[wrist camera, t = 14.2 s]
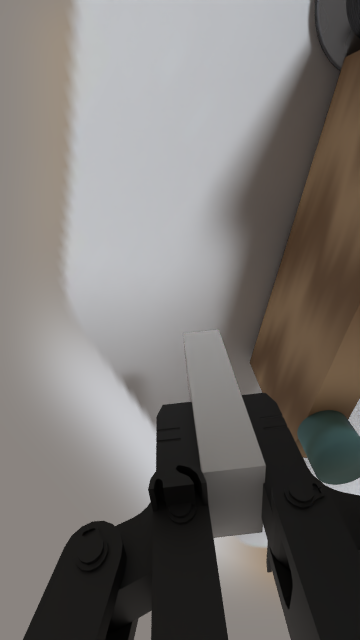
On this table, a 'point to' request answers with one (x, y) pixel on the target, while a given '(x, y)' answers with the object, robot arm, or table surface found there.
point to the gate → (321, 299)
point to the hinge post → (338, 28)
